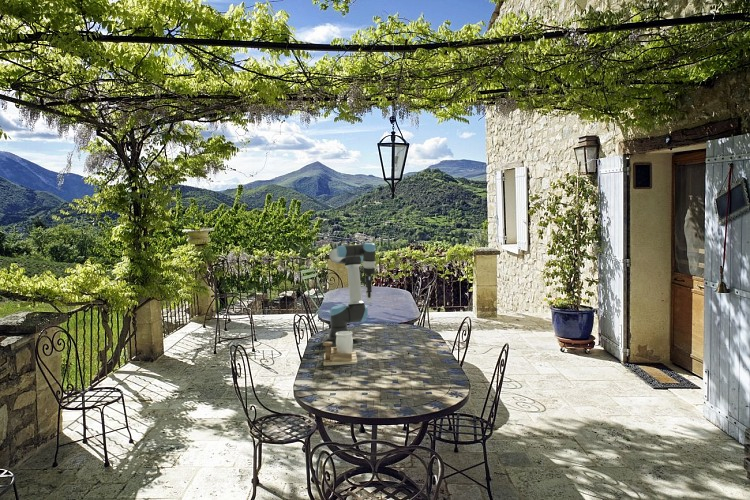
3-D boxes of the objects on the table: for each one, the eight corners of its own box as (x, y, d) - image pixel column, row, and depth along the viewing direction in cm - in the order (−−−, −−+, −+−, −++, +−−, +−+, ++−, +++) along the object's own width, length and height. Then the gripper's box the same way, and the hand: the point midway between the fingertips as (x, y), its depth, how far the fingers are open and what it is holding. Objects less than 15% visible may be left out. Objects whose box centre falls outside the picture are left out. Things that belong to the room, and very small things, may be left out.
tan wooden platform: (324, 355, 335) (323, 336, 334) (355, 353, 336) (355, 334, 335) (323, 365, 313) (322, 345, 312) (357, 363, 314) (356, 343, 313)
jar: (351, 359, 319) (349, 334, 318) (334, 358, 322) (333, 334, 320) (355, 354, 330) (354, 330, 328) (339, 354, 332) (338, 330, 331)
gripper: (376, 271, 324) (375, 304, 327) (373, 264, 349) (373, 295, 352) (364, 270, 324) (363, 304, 327) (362, 263, 349) (361, 295, 352)
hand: (368, 299), depth 340 cm, fingers open, 13 cm apart
